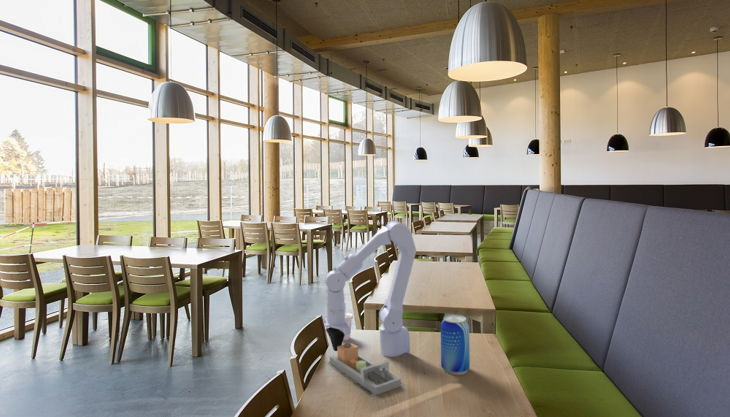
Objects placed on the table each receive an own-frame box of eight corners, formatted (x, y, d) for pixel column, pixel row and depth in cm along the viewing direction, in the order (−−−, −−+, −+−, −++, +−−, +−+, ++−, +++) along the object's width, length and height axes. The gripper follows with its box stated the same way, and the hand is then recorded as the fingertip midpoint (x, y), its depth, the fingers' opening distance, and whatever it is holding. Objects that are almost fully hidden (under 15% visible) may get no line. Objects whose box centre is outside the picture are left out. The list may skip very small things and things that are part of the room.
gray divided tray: (354, 357, 142) (354, 348, 142) (404, 388, 121) (404, 377, 121) (324, 366, 136) (324, 356, 136) (371, 401, 115) (371, 389, 115)
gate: (386, 380, 126) (386, 360, 126) (389, 382, 125) (388, 362, 124) (360, 389, 121) (360, 368, 121) (363, 391, 120) (363, 370, 120)
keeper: (351, 359, 138) (351, 340, 138) (362, 366, 133) (362, 347, 132) (337, 363, 136) (337, 344, 135) (348, 370, 130) (348, 351, 130)
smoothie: (351, 345, 153) (350, 306, 152) (333, 344, 154) (332, 305, 153) (355, 338, 159) (354, 301, 158) (338, 337, 160) (337, 300, 159)
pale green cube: (362, 369, 131) (362, 359, 131) (368, 372, 129) (368, 363, 128) (354, 372, 129) (354, 362, 129) (359, 375, 127) (359, 365, 127)
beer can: (474, 369, 132) (474, 317, 130) (460, 379, 126) (459, 325, 124) (450, 361, 137) (450, 312, 136) (435, 371, 131) (435, 319, 130)
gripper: (314, 305, 143) (315, 345, 144) (336, 316, 131) (337, 360, 132) (333, 301, 147) (334, 340, 148) (356, 312, 135) (357, 354, 136)
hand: (337, 349), depth 141 cm, fingers closed
